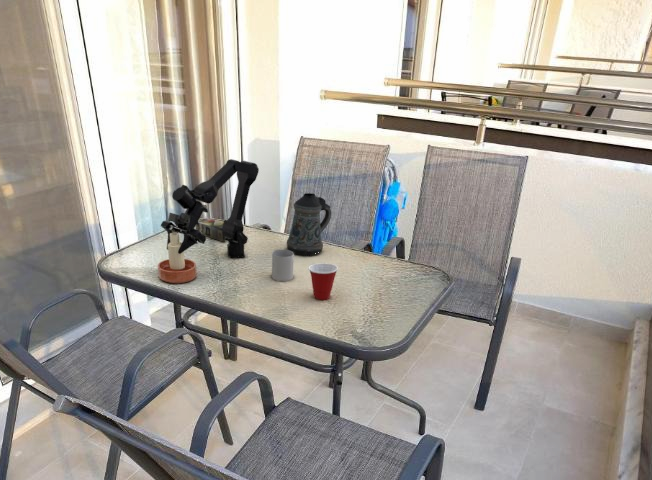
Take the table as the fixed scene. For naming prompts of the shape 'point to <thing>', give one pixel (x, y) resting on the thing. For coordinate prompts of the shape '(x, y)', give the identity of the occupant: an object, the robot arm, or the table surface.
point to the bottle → (175, 252)
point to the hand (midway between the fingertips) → (173, 251)
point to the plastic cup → (322, 279)
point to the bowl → (177, 272)
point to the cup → (282, 265)
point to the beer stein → (308, 225)
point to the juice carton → (211, 228)
